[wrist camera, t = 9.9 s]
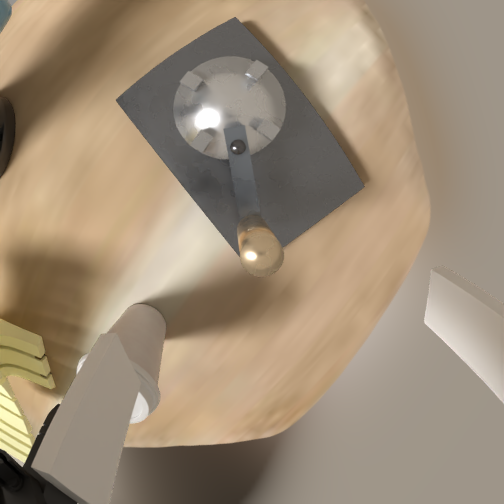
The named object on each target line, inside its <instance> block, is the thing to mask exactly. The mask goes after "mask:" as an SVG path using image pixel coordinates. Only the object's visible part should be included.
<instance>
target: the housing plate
mask: <svg viewBox="0 0 504 504" xmlns="http://www.w3.org/2000/svg"><path fill="white" fill-rule="evenodd" d="M227 56H235V57H243V58H246V59H250V60H253V61H256V60H258V61H260V62H261V63H263V64H264V65H266V66H268V70H269V71H270V72H271V73H272V74H273V75H274V76H275V77H276V79H277V80H278V82H279V83H280V85H281V87H282V89H283V92H284V96H285V101H286V113H285V118H284V121H283V124H282V127H281V129H280V131H279V132H278V134H277V135H276V137H275V138H274V139H273V140H272V141H271V142H270V143H269V144H268V145H267V146H266V147H264V148H263V149H261V150H260V151H258V152H256V153H254V154H252V155H250V157H251V162H252V168H253V174H254V179H255V185H256V191H257V197H258V203H259V209H260V215H261V217H262V218H263V219H264V220H265V221H266V223H267V224H268V226H269V227H270V229H271V231H272V232H273V234H274V235H275V237H276V238H277V240H278V241H279V243H280V244H281V246H282V248H283V247H284V246H286V245H287V244H288V243H290V242H291V241H292V240H294V239H295V238H297V237H298V236H299V235H301V234H302V233H303V232H305V231H306V230H307V229H309V228H310V227H311V226H313V225H314V224H316V223H317V222H318V221H320V220H321V219H322V218H324V217H325V216H326V215H328V214H329V213H330V212H332V211H333V210H334V209H336V208H337V207H338V206H340V205H341V204H342V203H344V202H345V201H346V200H348V199H349V198H350V197H352V196H353V195H354V194H356V193H357V192H358V191H360V190H361V189H362V188H364V187H365V186H364V185H363V183H362V181H361V180H360V178H359V176H358V174H357V173H356V171H355V169H354V168H353V166H352V164H351V163H350V161H349V160H348V158H347V156H346V155H345V153H344V152H343V150H342V148H341V147H340V145H339V144H338V142H337V141H336V139H335V138H334V136H333V135H332V133H331V132H330V130H329V129H328V127H327V126H326V124H325V123H324V122H323V120H322V119H321V117H320V116H319V114H318V113H317V112H316V110H315V109H314V108H313V106H312V105H311V103H310V102H309V101H308V99H307V98H306V97H305V95H304V94H303V93H302V92H301V90H300V89H299V88H298V86H297V85H296V84H295V83H294V81H293V80H292V79H291V78H290V76H289V75H288V74H287V73H286V72H285V70H284V69H283V68H282V67H281V66H280V64H279V63H278V62H277V61H276V60H275V59H274V57H273V56H272V55H271V54H270V53H269V52H268V51H267V50H266V48H265V47H264V46H263V45H262V44H261V43H260V42H259V41H258V40H257V39H256V38H255V37H254V36H253V34H252V33H251V32H250V31H249V30H248V29H247V28H246V27H245V26H244V25H243V24H242V23H241V22H240V21H239V20H238V19H237V18H236V17H234V18H232V19H230V20H228V21H227V22H225V23H223V24H221V25H219V26H217V27H216V28H214V29H212V30H210V31H209V32H207V33H205V34H204V35H202V36H200V37H199V38H197V39H195V40H194V41H192V42H191V43H189V44H188V45H186V46H184V47H183V48H181V49H180V50H178V51H177V52H176V53H174V54H173V55H171V56H170V57H168V58H167V59H166V60H164V61H163V62H161V63H160V64H159V65H157V66H156V67H155V68H153V69H152V70H151V71H150V72H148V73H147V74H146V75H144V76H143V77H142V78H141V79H139V80H138V81H137V82H136V83H135V84H133V85H132V86H131V87H130V88H129V89H128V90H126V91H125V92H124V93H123V94H122V95H121V96H120V97H118V98H117V99H116V101H117V103H118V104H119V105H120V107H121V108H122V109H123V110H124V112H125V113H126V114H127V116H128V117H129V118H130V120H131V121H132V122H133V123H134V125H135V126H136V127H137V129H138V130H139V131H140V132H141V134H142V135H143V136H144V138H145V139H146V140H147V141H148V143H149V144H150V145H151V146H152V148H153V149H154V150H155V152H156V153H157V154H158V155H159V157H160V158H161V159H162V160H163V162H164V163H165V164H166V166H167V167H168V168H169V169H170V171H171V172H172V173H173V174H174V176H175V177H176V178H177V179H178V181H179V182H180V183H181V185H182V186H183V187H184V188H185V190H186V191H187V192H188V193H189V195H190V196H191V197H192V198H193V200H194V201H195V202H196V203H197V205H198V206H199V207H200V208H201V210H202V211H203V212H204V213H205V215H206V216H207V217H208V218H209V220H210V221H211V222H212V223H213V225H214V226H215V227H216V228H217V230H218V231H219V232H220V233H221V234H222V236H223V237H224V238H225V239H226V241H227V242H228V243H229V244H230V246H231V247H232V248H233V249H234V251H235V252H236V253H237V254H238V255H239V257H240V251H239V244H238V236H237V226H238V223H239V222H240V218H239V212H238V207H237V201H236V196H235V191H234V185H233V180H232V174H231V169H230V163H229V160H223V159H217V158H213V157H210V156H207V155H205V154H203V153H201V152H199V151H197V150H196V149H194V148H193V147H192V146H190V145H189V144H188V143H187V142H186V141H185V139H184V138H183V137H182V135H181V134H180V132H179V130H178V128H177V126H176V123H175V119H174V112H173V106H174V99H175V95H176V92H177V89H178V87H179V86H180V84H181V83H180V81H181V79H182V78H183V77H184V76H185V74H186V73H187V72H188V71H190V72H191V71H192V70H193V69H194V68H196V67H197V66H199V65H200V64H202V63H204V62H206V61H209V60H212V59H215V58H219V57H227Z"/></svg>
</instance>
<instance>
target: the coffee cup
mask: <svg viewBox="0 0 504 504" xmlns="http://www.w3.org/2000/svg"><path fill="white" fill-rule="evenodd" d="M107 333H117V335H118V337H119V339H120V341H121V343H122V346H123V348H124V350H125V352H126V354H127V356H128V358H129V360H130V362H131V364H132V366H133V368H134V370H135V372H136V373H137V375H138V377H139V379H140V381H141V386H140V389H139V392H138V396H137V399H136V402H135V406H134V409H133V412H132V416H131V419H130V423H137V422H140V421H143V420H144V419H145V418H146V417H147V416H149V415H150V414H151V413H152V412H153V411H154V410H155V409H156V408H157V406H158V404H159V402H160V391H159V388H158V378H159V371H160V364H161V358H162V351H163V345H164V339H165V334H166V322H165V319H164V318H163V316H162V315H161V313H160V312H159V311H158V310H156V309H155V308H153V307H151V306H149V305H146V304H135V305H132V306H130V307H129V308H128V309H127V310H126V311H125V312H124V313H123V314H122V315H121V317H120V318H119V319H118V320H117V321H116V323H115V324H114V325H113V326H112V327H111V329H110V330H109V331H108V332H107ZM88 355H89V353H87V354H85V355H84V356H83V357H82V358H81V359H80V360H79V362H78V366H77V373H78V372H79V370H80V368H81V366H82V365H83V363H84V361H85V360H86V358H87V356H88Z"/></svg>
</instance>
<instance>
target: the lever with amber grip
mask: <svg viewBox="0 0 504 504" xmlns="http://www.w3.org/2000/svg"><path fill="white" fill-rule="evenodd" d="M180 83H181V84H180V86H179V87H178V89H177V92H176V95H175V99H174V106H173V112H174V119H175V123H176V126H177V128H178V130H179V132H180V134H181V135H182V137H183V138H184V139H185V141H186V142H187V143H188V144H189V145H190V146H192V147H193V148H194V149H196V150H197V151H199V152H201V153H203V154H205V155H207V156H210V157H213V158H217V159H223V160H229V163H230V169H231V174H232V180H233V185H234V191H235V196H236V201H237V207H238V212H239V218H240V222H239V223H238V226H237V236H238V244H239V251H240V259H241V264H242V266H243V268H244V269H245V270H246V271H247V272H248V273H249V274H251V275H253V276H256V277H267V276H270V275H272V274H274V273H275V272H276V271H278V269H279V268H280V267H281V265H282V263H283V260H284V252H283V248H282V246H281V244H280V243H279V241H278V240H277V238H276V237H275V235H274V234H273V232H272V231H271V229H270V227H269V226H268V224H267V223H266V221H265V220H264V219H263V218H262V217H261V215H260V209H259V203H258V197H257V191H256V185H255V179H254V174H253V168H252V162H251V157H250V155H252V154H254V153H256V152H258V151H260V150H261V149H263V148H264V147H266V146H267V145H268V144H269V143H270V142H271V141H272V140H273V139H274V138H275V137H276V135H277V134H278V132H279V131H280V129H281V127H282V124H283V121H284V118H285V113H286V101H285V96H284V92H283V89H282V87H281V85H280V83H279V82H278V80H277V79H276V77H275V76H274V75H273V74H272V73H271V72H270V71H269V70H268V66H266V65H264V64H263V63H261V62H260V61H258V60H256V61H253V60H250V59H246V58H243V57H235V56H227V57H219V58H215V59H212V60H209V61H206V62H204V63H202V64H200V65H199V66H197V67H196V68H194V69H193V70H192V71H191V72H190V71H188V72H187V73H186V74H185V76H184V77H183V78H182V79H181V81H180Z"/></svg>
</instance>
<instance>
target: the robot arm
mask: <svg viewBox="0 0 504 504" xmlns="http://www.w3.org/2000/svg"><path fill="white" fill-rule="evenodd" d="M11 14H12V7H11V5H10V3H9V1H8V0H0V33H1V32H2V30H3V29H4V27H5V25H6V24H7V22H8V21H9V19H10V17H11ZM14 135H15V117H14V112H13V108H12V106H11V104H10V102H9V101H8V100H7V99H6V98H4V97H1V96H0V177H1V175H2V174H3V172H4V170H5V168H6V166H7V164H8V161H9V158H10V155H11V151H12V147H13V142H14ZM424 323H425V324H426V325H427V326H428V327H429V328H431V329H432V330H433V331H434V332H435V333H436V334H437V335H438V336H439V337H440V338H441V339H442V340H443V341H444V342H445V343H446V344H447V345H448V346H449V347H450V348H451V349H452V350H453V351H455V353H456V354H457V355H458V356H459V357H460V358H461V359H462V360H464V362H465V363H466V364H467V365H468V366H469V367H470V368H471V369H472V370H473V371H474V372H475V373H476V374H477V375H478V376H479V377H480V378H481V379H482V380H483V381H484V382H485V383H486V385H487V386H488V387H489V388H490V389H491V390H492V391H493V392H494V393H495V394H496V395H497V397H498V398H499V399H500V400H501V401H502V402H503V403H504V303H502V302H501V301H499V300H498V299H496V298H495V297H493V296H491V295H490V294H489V293H487V292H486V291H484V290H483V289H481V288H479V287H478V286H476V285H474V284H473V283H471V282H470V281H468V280H467V279H465V278H463V277H462V276H460V275H458V274H457V273H455V272H453V271H452V270H450V269H448V268H447V267H445V266H439V267H436V268H433V269H431V274H430V283H429V292H428V300H427V307H426V313H425V319H424ZM140 386H141V381H140V379H139V377H138V375H137V373H136V372H135V370H134V368H133V366H132V364H131V362H130V360H129V358H128V356H127V354H126V352H125V350H124V348H123V346H122V343H121V341H120V339H119V337H118V335H117V333H107V334H101V335H100V337H99V338H98V340H97V341H96V343H95V345H94V346H93V348H92V350H91V351H90V353H89V355H88V356H87V358H86V360H85V361H84V363H83V365H82V366H81V368H80V370H79V372H78V373H77V375H76V377H75V379H74V380H73V382H72V384H71V386H70V387H69V389H68V391H67V393H66V395H65V397H64V399H63V400H62V402H61V404H57V405H56V406H55V407H54V408H53V409H52V410H51V411H50V412H49V414H48V416H47V418H46V420H45V421H44V423H43V424H44V426H42V427H41V429H40V431H39V435H37V438H36V440H35V442H34V444H33V446H32V448H31V450H30V452H29V455H28V457H27V459H26V461H25V464H24V466H23V467H21V466H20V465H19V464H18V463H17V462H16V461H15V460H14V459H13V458H12V457H11V456H10V455H9V454H8V453H7V452H6V451H5V450H1V449H0V504H77V503H79V504H110V500H111V495H112V490H113V486H114V481H115V477H116V472H117V469H118V464H119V460H120V456H121V452H122V449H123V445H124V441H125V437H126V434H127V430H128V426H129V423H130V419H131V416H132V412H133V409H134V406H135V402H136V399H137V396H138V392H139V389H140Z"/></svg>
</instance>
